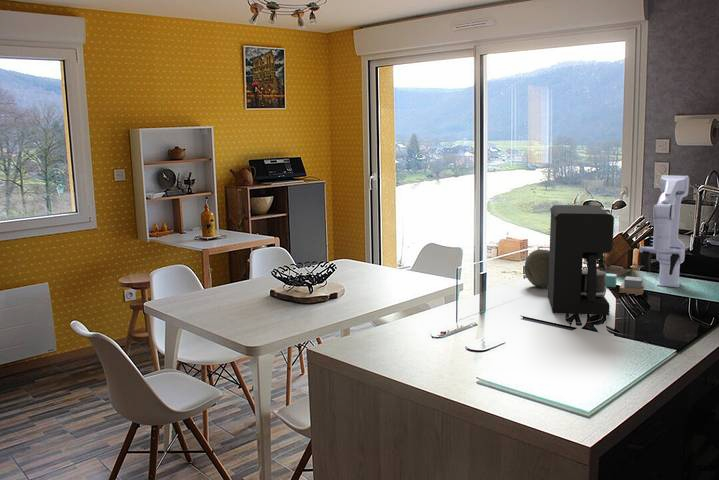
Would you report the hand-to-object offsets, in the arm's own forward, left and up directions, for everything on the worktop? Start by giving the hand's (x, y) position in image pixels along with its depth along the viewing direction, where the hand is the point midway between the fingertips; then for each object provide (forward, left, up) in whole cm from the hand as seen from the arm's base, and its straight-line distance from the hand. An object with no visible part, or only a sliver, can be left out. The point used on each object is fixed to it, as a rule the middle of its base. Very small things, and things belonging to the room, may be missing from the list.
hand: (659, 273), depth 250 cm
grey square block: (-7, -9, -7) cm, 14 cm away
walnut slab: (-7, -10, -10) cm, 16 cm away
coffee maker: (+23, -25, -10) cm, 35 cm away
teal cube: (-15, -19, -10) cm, 26 cm away
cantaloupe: (-2, -43, -10) cm, 44 cm away
